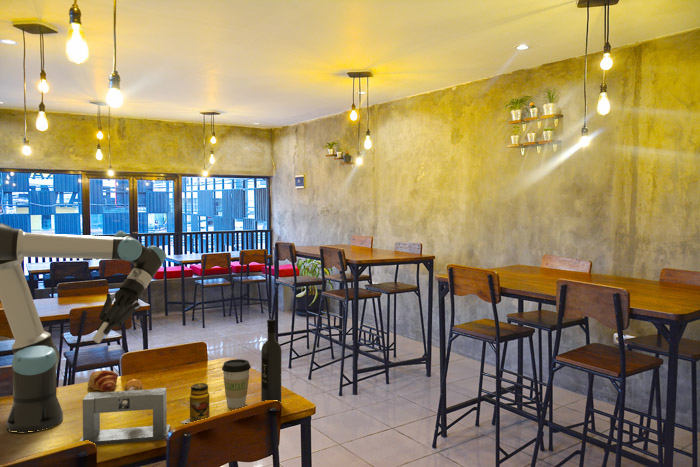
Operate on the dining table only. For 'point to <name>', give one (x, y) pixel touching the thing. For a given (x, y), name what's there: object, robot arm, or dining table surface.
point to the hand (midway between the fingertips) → (95, 341)
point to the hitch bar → (111, 403)
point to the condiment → (198, 403)
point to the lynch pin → (130, 386)
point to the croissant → (103, 380)
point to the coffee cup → (236, 382)
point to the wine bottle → (271, 366)
